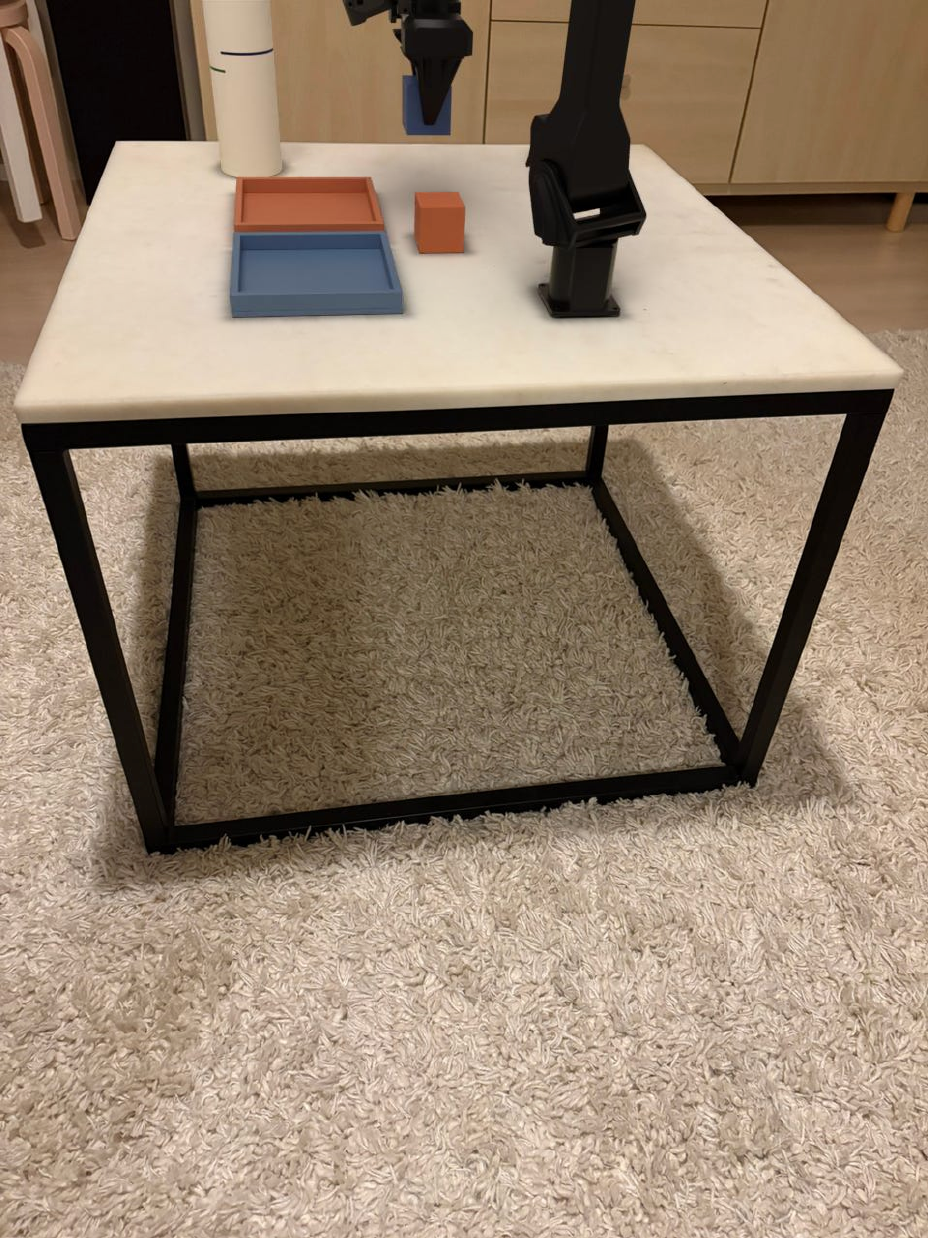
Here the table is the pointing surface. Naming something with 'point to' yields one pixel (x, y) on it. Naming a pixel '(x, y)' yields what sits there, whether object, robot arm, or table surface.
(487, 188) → the table surface
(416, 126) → the blue block
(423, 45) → the robot arm
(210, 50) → the cylindrical container
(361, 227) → the clay tray
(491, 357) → the table surface
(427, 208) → the clay block
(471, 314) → the table surface
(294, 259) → the blue tray
